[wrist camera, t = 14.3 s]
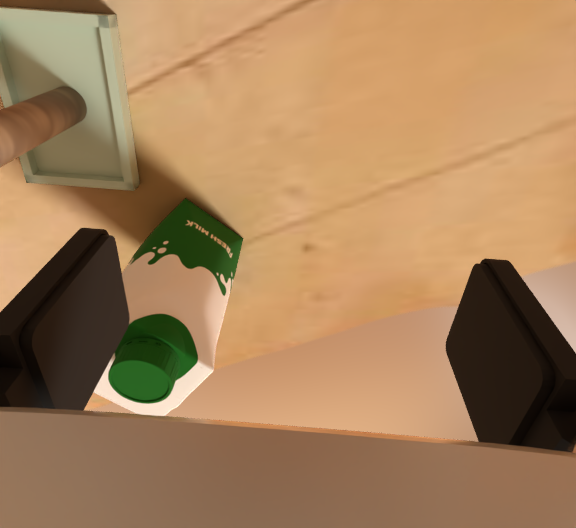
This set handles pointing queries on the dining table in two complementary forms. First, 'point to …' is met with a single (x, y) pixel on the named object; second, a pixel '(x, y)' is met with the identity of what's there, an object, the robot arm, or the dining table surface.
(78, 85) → the tray
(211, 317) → the milk carton
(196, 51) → the dining table surface
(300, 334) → the dining table surface
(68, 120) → the pin
